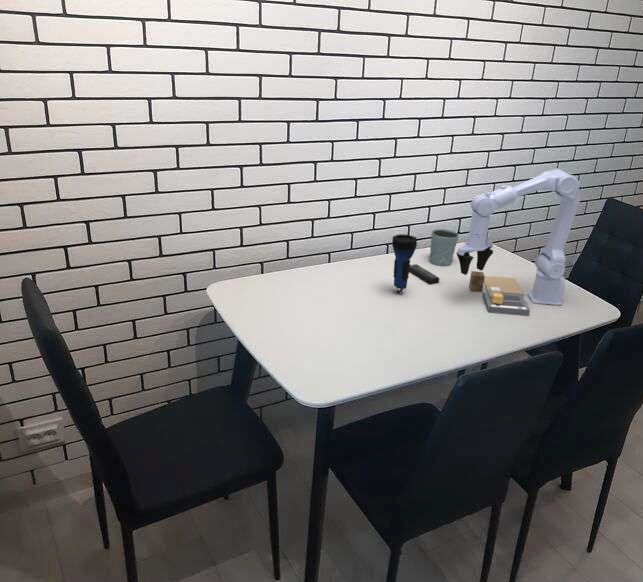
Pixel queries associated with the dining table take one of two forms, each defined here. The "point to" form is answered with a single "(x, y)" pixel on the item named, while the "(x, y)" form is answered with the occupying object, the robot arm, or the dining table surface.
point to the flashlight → (402, 258)
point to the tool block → (476, 281)
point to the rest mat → (503, 284)
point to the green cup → (442, 247)
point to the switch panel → (507, 304)
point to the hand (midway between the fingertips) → (471, 271)
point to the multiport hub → (423, 274)
